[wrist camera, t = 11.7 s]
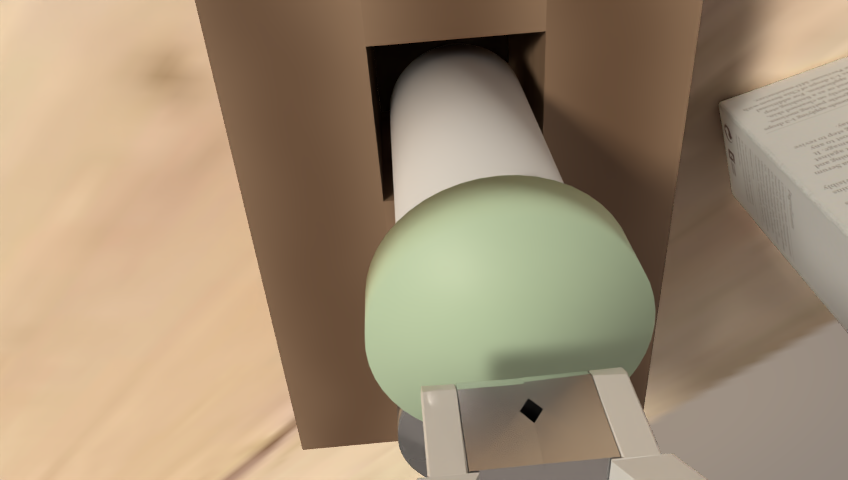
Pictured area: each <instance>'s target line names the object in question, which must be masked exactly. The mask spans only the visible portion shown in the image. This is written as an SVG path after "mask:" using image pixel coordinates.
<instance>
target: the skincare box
mask: <svg viewBox="0 0 848 480" xmlns="http://www.w3.org/2000/svg"><path fill="white" fill-rule="evenodd" d="M719 111H720V117H721V124H722V130H723V137H724V143H725V150H726V156H727V163H728V170H729V176H730V184H731V191H732V194H733V196H734V197H735V198H736V199H737V201H738V202H739V203H740V204H741V205H742V206H743V208H744V209H745V210H746V211H747V212H748V214H749V215H750V216H751V217H752V218H753V220H754V221H755V222H756V223H757V225H758V226H759V227H760V228H761V230H762V231H763V232H764V233H765V234H766V236H767V237H768V238H769V239H770V240H771V241H772V243H773V244H774V245H775V246H776V247H777V249H778V250H779V251H780V252H781V254H782V255H783V256H784V257H785V258H786V259H787V261H788V262H789V263H790V264H791V265H792V267H793V268H794V269H795V270H796V271H797V273H798V274H799V275H800V276H801V277H802V279H803V280H804V281H805V282H806V283H807V285H808V286H809V287H810V288H811V289H812V291H813V292H814V293H815V294H816V296H817V297H818V298H819V299H820V300H821V302H822V303H823V304H824V305H825V306H826V307H827V309H828V310H829V311H830V312H831V313H832V315H833V316H834V317H835V318H836V319H837V321H838V322H839V323H840V324H841V325H842V326H843V328H844V329H845V330H846V332H847V333H848V56H847V57H844V58H842V59H839V60H836V61H833V62H830V63H828V64H825V65H822V66H819V67H817V68H814V69H811V70H808V71H805V72H803V73H800V74H797V75H794V76H791V77H789V78H786V79H783V80H780V81H778V82H775V83H772V84H769V85H766V86H764V87H761V88H758V89H755V90H752V91H749V92H747V93H744V94H741V95H738V96H736V97H733V98H730V99H727V100H724V101H721V102H720V103H719Z"/></svg>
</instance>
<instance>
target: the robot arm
mask: <svg viewBox="0 0 848 480" xmlns="http://www.w3.org/2000/svg"><path fill="white" fill-rule="evenodd" d="M421 405H422V417H423V429H424V441H425V452H426V464H427V476H428V477H425V478H417V480H708V479H706V478H705V477H704V476H702V475H701V474H700V473H698V472H697V471H695V470H694V469H693V468H691V467H690V466H689V465H687V464H686V463H685V462H683V461H682V460H681V459H679V458H678V457H676V456H675V455H674V454H662V453H661V451H660V448H659V446H658V444H657V441H656V439H655V437H654V435H653V432H652V430H651V427H650V425H649V423H648V420H647V418H646V416H645V413H644V411H643V408H642V406H641V404H640V401H639V399H638V397H637V394H636V392H635V390H634V387H633V385H632V383H631V380H630V378H629V376H628V373H627V371H625V370H624V369H623V368H622V367H618V368H609V369H599V370H590V371H588V372H587V371H580V372H571V373H561V374H552V375H542V376H533V377H524V378H519V379H505V380H491V381H477V382H463V383H456V386H455V384H445V385H430V386H421Z"/></svg>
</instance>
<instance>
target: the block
mask: <svg viewBox="0 0 848 480" xmlns="http://www.w3.org/2000/svg"><path fill="white" fill-rule="evenodd" d="M195 3H196V7H197V11H198V15H199V19H200V23H201V28H202V32H203V36H204V40H205V44H206V48H207V53H208V57H209V61H210V65H211V69H212V73H213V78H214V82H215V86H216V90H217V94H218V99H219V103H220V107H221V111H222V115H223V119H224V124H225V128H226V132H227V136H228V140H229V144H230V149H231V153H232V157H233V161H234V165H235V169H236V174H237V178H238V182H239V186H240V190H241V194H242V199H243V203H244V207H245V211H246V215H247V219H248V224H249V228H250V232H251V236H252V240H253V244H254V249H255V253H256V257H257V261H258V265H259V269H260V274H261V278H262V282H263V286H264V290H265V294H266V299H267V303H268V307H269V311H270V315H271V319H272V324H273V328H274V332H275V336H276V340H277V344H278V349H279V353H280V357H281V361H282V365H283V369H284V374H285V378H286V382H287V386H288V390H289V394H290V399H291V403H292V407H293V411H294V415H295V419H296V424H297V428H298V432H299V436H300V440H301V444H302V449H303V450H306V449H316V448H327V447H338V446H349V445H360V444H370V443H381V442H392V441H398V422H397V404H395V403H394V402H393V401H392V400H391V399H390V398H389V397H388V396H387V395H386V393H385V392H384V391H383V390H382V389H381V387H380V385H379V384H378V382H377V381H376V379H375V378H374V375H373V373H372V371H371V368H370V366H369V363H368V359H367V355H366V349H365V289H366V279H367V274H368V271H369V267H370V263H371V261H372V259H373V256H374V254H375V252H376V250H377V248H378V246H379V245H380V243H381V242H382V240H383V238H384V237H385V235H386V234H387V233H388V232H389V230H390V229H391V228H392V227H393V226H394V225H395V204H394V185H393V166H392V146H391V127H390V111H384V112H381V107H380V98H379V89H378V80H377V70H376V61H375V52H374V46H380V45H391V44H403V43H415V42H426V41H438V40H450V39H461V38H473V37H485V36H496V35H508V65H509V66H510V67H511V68H512V70H513V71H514V73H515V75H516V76H517V78H518V80H519V83H520V85H521V87H522V89H523V92H524V94H525V96H526V98H527V101H528V103H529V105H530V107H531V110H532V112H533V114H534V117H535V119H536V121H537V123H538V126H539V128H540V130H541V132H542V135H543V137H544V139H545V141H546V144H547V146H548V148H549V151H550V153H551V155H552V157H553V160H554V162H555V164H556V166H557V169H558V171H559V173H560V176H561V178H562V180H563V182H564V184H567V185H570V186H572V187H574V188H576V189H578V190H580V191H582V192H584V193H586V194H588V195H589V196H591V197H592V198H593V199H595V200H596V201H598V202H599V203H601V204H602V205H603V206H604V207H605V208H606V209H607V210H608V211H609V212H610V213H611V214H612V215H613V217H614V218H615V219H616V221H617V222H618V223H619V225H620V226H621V228H622V229H623V231H624V233H625V235H626V237H627V239H628V241H629V243H630V245H631V247H632V249H633V251H634V253H635V254H636V256H637V258H638V260H639V262H640V264H641V266H642V268H643V270H644V272H645V274H646V276H647V278H648V280H649V282H650V285H651V288H652V291H653V295H654V302H655V325H654V330H653V334H652V339H651V341H650V344H649V346H648V349H647V351H646V354H645V355H644V357H643V359H642V361H641V362H640V364H639V366H638V367H637V369H636V370H635V371H634V372H633V374H632V375H631V376H630V380H631V383H632V385H633V387H634V390H635V392H636V394H637V397H638V399H639V401H640V404H641V406H642V408H643V409H644V403H645V396H646V389H647V382H648V375H649V368H650V362H651V355H652V348H653V341H654V334H655V327H656V320H657V314H658V307H659V300H660V293H661V286H662V279H663V272H664V266H665V259H666V252H667V245H668V238H669V231H670V224H671V218H672V211H673V204H674V197H675V190H676V183H677V177H678V170H679V163H680V156H681V149H682V142H683V135H684V129H685V122H686V115H687V108H688V101H689V94H690V87H691V81H692V74H693V67H694V60H695V53H696V46H697V40H698V33H699V26H700V19H701V12H702V5H703V0H195Z"/></svg>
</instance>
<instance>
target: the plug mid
mask: <svg viewBox="0 0 848 480" xmlns="http://www.w3.org/2000/svg"><path fill="white" fill-rule="evenodd" d="M390 127H391V146H392V166H393V185H394V204H395V225H394V226H393V227H392V228H391V229H390V230H389V232H388V233H387V234H386V235H385V237H384V238H383V240H382V242H381V243H380V245H379V246H378V248H377V250H376V252H375V254H374V256H373V259H372V261H371V263H370V267H369V271H368V274H367V279H366V289H365V349H366V355H367V359H368V363H369V366H370V368H371V371H372V373H373V375H374V378H375V379H376V381H377V382H378V384H379V385H380V387H381V389H382V390H383V391H384V392H385V393H386V395H387V396H388V397H389V398H390V399H391V400H392V401H393V402H394V403H395V404H397V405H398V406H399V407H400V408H401V409H402V410H404V411H405V412H407V413H409V414H410V415H412V416H413V417H415V418H417V419H419V420H421V421H423V417H422V405H421V386H430V385H445V384H455V386H456V383H463V382H477V381H491V380H505V379H519V378H524V377H533V376H542V375H552V374H561V373H571V372H580V371H587V372H588V371H590V370H599V369H609V368H618V367H622V368H623V369H624V370H625V371H627V373H628V376H629V378H630V376H631V375H632V374H633V372H634V371H635V370H636V369H637V367H638V366H639V364H640V362H641V361H642V359H643V357H644V355H645V354H646V351H647V349H648V346H649V344H650V341H651V339H652V334H653V330H654V325H655V302H654V295H653V291H652V288H651V285H650V282H649V280H648V278H647V276H646V274H645V272H644V270H643V268H642V266H641V264H640V262H639V260H638V258H637V256H636V254H635V253H634V251H633V249H632V247H631V245H630V243H629V241H628V239H627V237H626V235H625V233H624V231H623V229H622V228H621V226H620V225H619V223H618V222H617V221H616V219H615V218H614V217H613V215H612V214H611V213H610V212H609V211H608V210H607V209H606V208H605V207H604V206H603V205H602V204H601V203H599V202H598V201H596V200H595V199H593V198H592V197H591V196H589V195H588V194H586V193H584V192H582V191H580V190H578V189H576V188H574V187H572V186H570V185H567V184H564V182H563V180H562V178H561V176H560V173H559V171H558V169H557V166H556V164H555V162H554V160H553V157H552V155H551V153H550V151H549V148H548V146H547V144H546V141H545V139H544V137H543V135H542V132H541V130H540V128H539V126H538V123H537V121H536V119H535V117H534V114H533V112H532V110H531V107H530V105H529V103H528V101H527V98H526V96H525V94H524V92H523V89H522V87H521V85H520V83H519V80H518V78H517V76H516V75H515V73H514V71H513V70H512V68H511V67H510V66H509V65H508V64H507V63H506V62H505V61H504V60H503V59H502V58H501V57H499V56H498V55H497V54H495V53H493V52H491V51H490V50H487V49H485V48H482V47H479V46H475V45H470V44H450V45H444V46H440V47H437V48H434V49H432V50H429V51H427V52H425V53H424V54H422V55H420V56H419V57H417V58H416V59H415V60H413V61H412V62H411V63H410V64H409V65H408V66H407V67H406V68H405V69H404V71H403V72H402V73H401V75H400V76H399V78H398V80H397V81H396V83H395V86H394V88H393V91H392V95H391V99H390Z"/></svg>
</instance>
